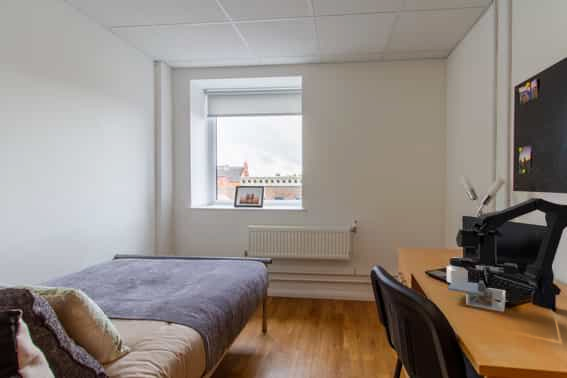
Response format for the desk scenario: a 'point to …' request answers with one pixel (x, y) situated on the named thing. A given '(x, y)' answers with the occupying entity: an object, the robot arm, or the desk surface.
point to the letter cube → (486, 299)
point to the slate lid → (468, 287)
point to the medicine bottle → (456, 271)
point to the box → (496, 295)
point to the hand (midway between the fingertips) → (487, 287)
